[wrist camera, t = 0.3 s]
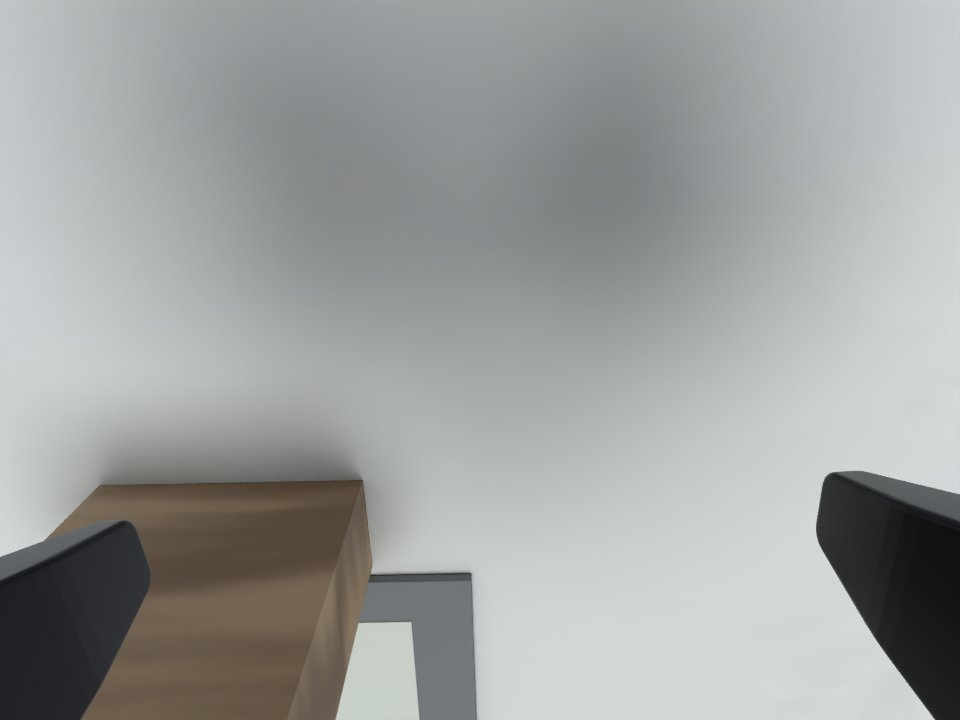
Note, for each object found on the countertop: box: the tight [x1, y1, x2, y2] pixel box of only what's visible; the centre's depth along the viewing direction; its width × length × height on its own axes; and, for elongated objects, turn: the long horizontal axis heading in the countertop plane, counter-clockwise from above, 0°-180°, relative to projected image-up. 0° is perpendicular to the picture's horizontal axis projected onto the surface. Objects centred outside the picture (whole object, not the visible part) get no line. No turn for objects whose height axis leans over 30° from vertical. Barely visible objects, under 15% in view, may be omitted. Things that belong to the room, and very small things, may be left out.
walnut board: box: [44, 480, 372, 720], centre depth 19 cm, size 4×10×12 cm, turn 91°
